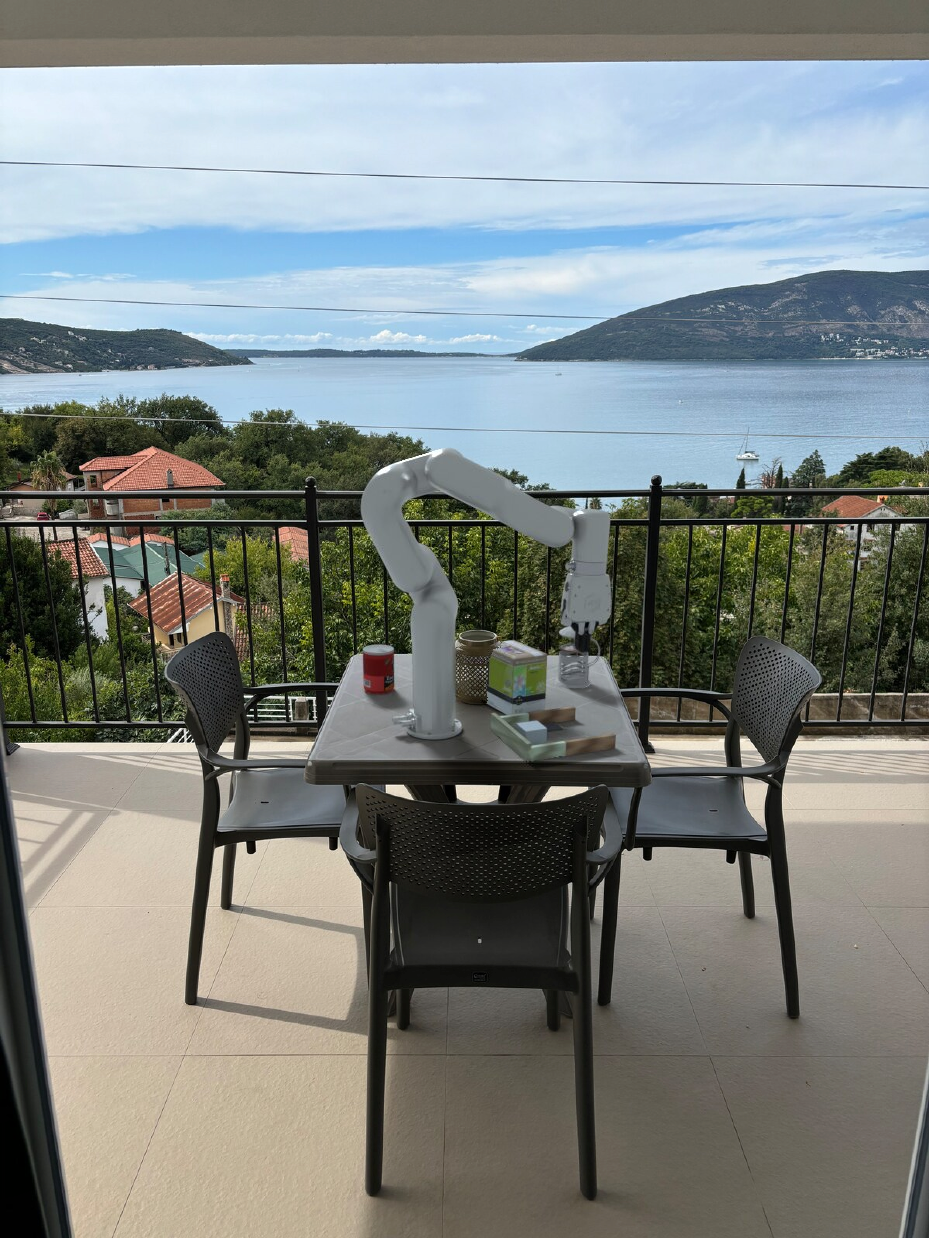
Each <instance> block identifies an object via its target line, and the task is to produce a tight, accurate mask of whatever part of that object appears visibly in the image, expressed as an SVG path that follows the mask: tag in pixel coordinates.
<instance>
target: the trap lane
mask: <svg viewBox="0 0 929 1238" xmlns="http://www.w3.org/2000/svg"><path fill="white" fill-rule="evenodd" d="M576 708H577V707H576V706H573V705H572V706H566V707H559V708H550V709H545V710H542V711H535V712H527V713H520V714H513V715H506V714H504V715H498V713H496V712H492V713H490V731H491V730H492V731H493V733H494V734H495V736H496V737H498V736H499V737H500V738H501V739H502V740H501V739H500V738H499V737H498V738H499V739H500V740H501V741H502V742H504V743H505V744H506V743H507V744H508V745H507V744H506V745H507V746H508V747H509V746H510V747H511V748H512V749H511V748H510V747H509V748H510V749H511V750H513V751H514V753H516V754H517V753H518V754H519V755H518V754H517V755H518V756H521V757H520V758H521V759H523V761H525V760H526V761H527V762H526V761H525V762H526V763H529V761H531V762H535V761H534V760H537V761H543V760H549V758H550V759H555V758H554V757H556V758H560V757H559V756H562V757H567V756H575V755H581V754H587V753H588V754H589V753H592V752H599V751H605V750H612V749H616V740H617V739H616V738H617V736H616V735H617V734H615V733H614V732H613V733H608V734H601V735H594V736H589V737H581V738H576V739H575V738H574V739H568V740H567V739H566V740H562V741H554V742H548V743H547V744H540V745H534V746H532V743H531V742H529V741H528V740H527V739H526V738H525V737H523V736H522V735H521V734H520V733H519V732H517V731H516V723H523V722H530V721H538V722H539V723H541V724H542V723H549V722H555V723H556V724H557V723H562V722H563V723H564V722H569V721H575V720H576ZM492 731H491V732H492Z"/></svg>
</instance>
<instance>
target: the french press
mask: <svg viewBox="0 0 929 1238" xmlns="http://www.w3.org/2000/svg"><path fill="white" fill-rule="evenodd" d="M558 634H559V635H560V636H561V637H563V638H567V639H573V643H567V644H565V643H564V644H562V645H561V646H560V647H559V648H560V651H559V652H558V671H557V672H558V673H557V674H558V676H557V678H556V679H554V681H555V682H554V681H553V683H554V684H555V685H556V684H557V685H558V687H561V688H564V689H569V688H582V689H585V687H586V686H588V685H589V684H590V682H591V681H590V680H589V674H590V673H589V671H590V667H592V666H594V665H595V664H596V663H597V662H598V661H599V660H600V656H601V648H600V645H599V643H598V641H597V639H595V638H593V637H591V639H590V641H593V642H594V643H595V644H596V645H597V647H598V652H597V656H596V657H595V659H594V660H592V661H591V662H589V656H590V655H589V651H588V652H580V651H578V650H576V649H575V645H574V643H575V632H574V631H573V629H572V628H571V627H568V626H565V627H563V628H562V629H560V630H559V631H558ZM572 654H573V655H572ZM574 654H575V655H574ZM577 654H579V655H577ZM570 655H571V656H570ZM573 663H574V664H573ZM575 663H576V664H575ZM557 685H556V686H557Z"/></svg>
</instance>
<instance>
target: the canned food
mask: <svg viewBox="0 0 929 1238" xmlns="http://www.w3.org/2000/svg"><path fill="white" fill-rule="evenodd" d="M362 670H363V672H362V673H363V674H362V677H363V678H362V679H363V690H364V691H365V692H366V693H368V694H372V695H383V694H384V695H385V694H389V693H392V692H393V691H394V690H395V648H394V647H393V646H391V645H387V644H371V645H367V646H364V647H363V648H362Z"/></svg>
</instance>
